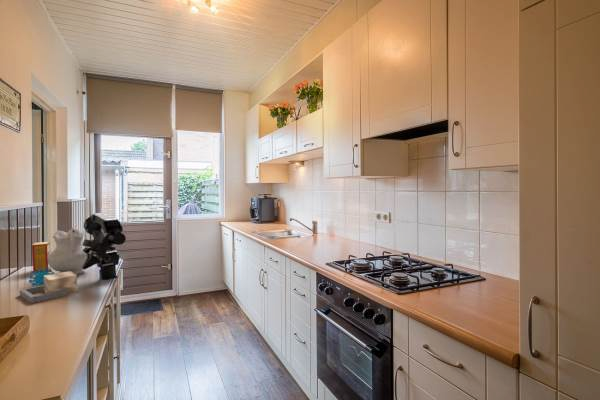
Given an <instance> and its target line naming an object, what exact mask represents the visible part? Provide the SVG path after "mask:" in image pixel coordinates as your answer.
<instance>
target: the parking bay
mask: <svg viewBox="0 0 600 400" xmlns="http://www.w3.org/2000/svg"><path fill="white" fill-rule="evenodd" d="M18 292H19V297H20V298H23V299H24V300H25V301H28V303H30V304H31V303H33V304H37V303H40V301H41V302H43V301H44V302H45V301H49V300H53V299H57V298H62V297H66V296H68V293H67V289H64V290H59V291H55V292H50V293H41V292H44V285H42V284H40V286H36V285H35V286H32V287H31V286H30V287H27V288H26V287H25V288H22V289H19V291H18ZM36 293H41V294H37V295H34V294H36Z"/></svg>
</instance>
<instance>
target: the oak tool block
mask: <svg viewBox="0 0 600 400" xmlns="http://www.w3.org/2000/svg"><path fill="white" fill-rule="evenodd" d="M77 275H78V274H77ZM77 275H76V274H74V273H72V272H71V271H68V272H62V273H59V272H57V273H54V274H51V275H45V276H44V291H43V293H44V294H46V293H50V292H55V291H59V290H64V289H67V294H71V293H75V292H76V293H77V292H78V279H77V278H78V276H77Z"/></svg>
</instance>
